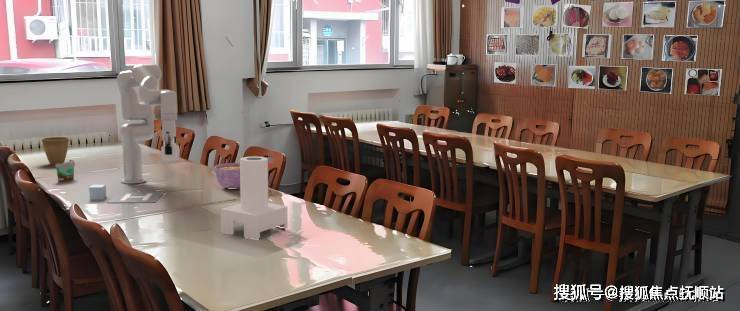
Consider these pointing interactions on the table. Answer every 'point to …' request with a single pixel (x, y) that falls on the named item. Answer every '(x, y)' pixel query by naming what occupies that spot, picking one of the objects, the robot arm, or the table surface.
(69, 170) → the food container
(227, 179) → the bowl of food
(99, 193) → the blue cube
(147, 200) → the board
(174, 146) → the medicine bottle
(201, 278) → the table surface
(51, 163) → the plant pot
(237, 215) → the paper towel holder
